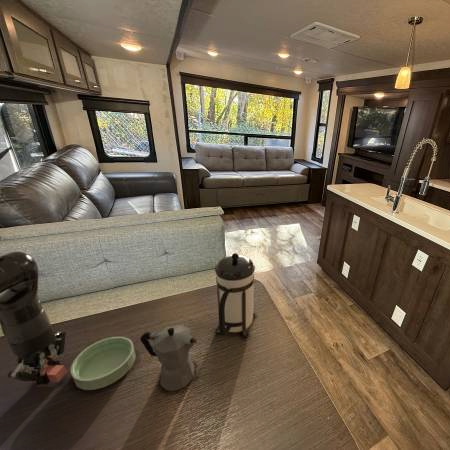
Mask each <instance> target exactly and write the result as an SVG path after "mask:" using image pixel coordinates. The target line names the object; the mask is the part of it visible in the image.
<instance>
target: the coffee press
mask: <svg viewBox="0 0 450 450" xmlns="http://www.w3.org/2000/svg"><path fill="white" fill-rule="evenodd" d="M255 270H256V265H255V263H254V262H253V261H252V259H251V258H249V257H248V256H246V255H244V254H238V253H237V252H234V253H232V254H231V255H227V256H224V257H222V258H221V259H219V261H218V262H217V264H216V265H215V267H214V273H215V275H216V277H215V281H216V282H215V283H216V295H217V313H218V325H217V327H216V329H215V331H216V333H217V334H220V336H222V337H226V336H227V335H228V334H229V333H241V337H242V338H246V337H248V332H247V329H248V328H249V327H250V326H251V324H252V323H253V319H254V318H255V317H256V314H255V313H254V283H255V274H254V273H255Z"/></svg>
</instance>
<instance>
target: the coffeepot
mask: <svg viewBox="0 0 450 450" xmlns="http://www.w3.org/2000/svg"><path fill="white" fill-rule="evenodd" d="M150 341H152V345H151V342H150ZM140 342H141V343H142V345H143V346H144V348H145V350H146V351H147V352H148V354H149V356H151V357H157V360H158V362H159V363H160V364H161V369H160V380H159V381H160V382H159V383H160V384H159V385H160V386H161V387H162V388H163V389H165V390H166V391H168V392H173V391H178V390H181V389H184V388H185V387H186V386H187V385H188V384H189V383H190V382H191V381H192V380H193V379H194V378H195V364H194V363H193V359H192V357H191V355H190V350H191V348H192V347H193V346H194V345H195V344H197V343H198V339H197V338H196V337H194V336H193V335H191V329H190V328H188V327H186V326H185V325H183V324H176V325H170V326H166V327H165V328H164V329H162V330H161V331H159V332H157V331H152V332H149V331H146V332H144V333H143V334H142V335H141V336H140Z"/></svg>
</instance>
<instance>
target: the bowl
mask: <svg viewBox="0 0 450 450" xmlns="http://www.w3.org/2000/svg"><path fill="white" fill-rule="evenodd" d="M136 355H137V354H136V350H135V346H134V343H133V341H132V340H131V339H130V338H128V337H125V336H111V337H106V338H103V339H101V340H98V341H96V342H94V343H92V344H90V345H89V346H87V347H86V348H84V349H82V351H81V352H80V353H79V354H78V355H77V356H76V357H75V358H74V359H73V361H72V364H71V365H70V375H71V379H72V380H73V383H74V384H75V386H76V387H77V388H78V389H81V390H83V391H95V390H100V389H103V388H105V387H108V386H110V385H112V384H114V383H116V382H117V381H119V380H120V379H121V378H123V377H124V376H125V375H126V374H127V373H128V372H129V371H130V370H131V368H132V367H133V365H134V363H135V360H136V357H137V356H136Z"/></svg>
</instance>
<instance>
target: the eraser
mask: <svg viewBox="0 0 450 450" xmlns="http://www.w3.org/2000/svg"><path fill="white" fill-rule="evenodd" d="M44 369H45V372H46V373H47V376H48V378H49V380H50V382H49V383H59V382H60V381H61V380H62V379H63V378H64V377H65V376H66V375H67V372H68V371H67V369H66V367H65V365H63V364H62V365H61V364H60V365H47V364H46V365H45V366H44ZM37 371H38V370H37ZM33 383H37V382H36V381H33Z"/></svg>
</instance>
